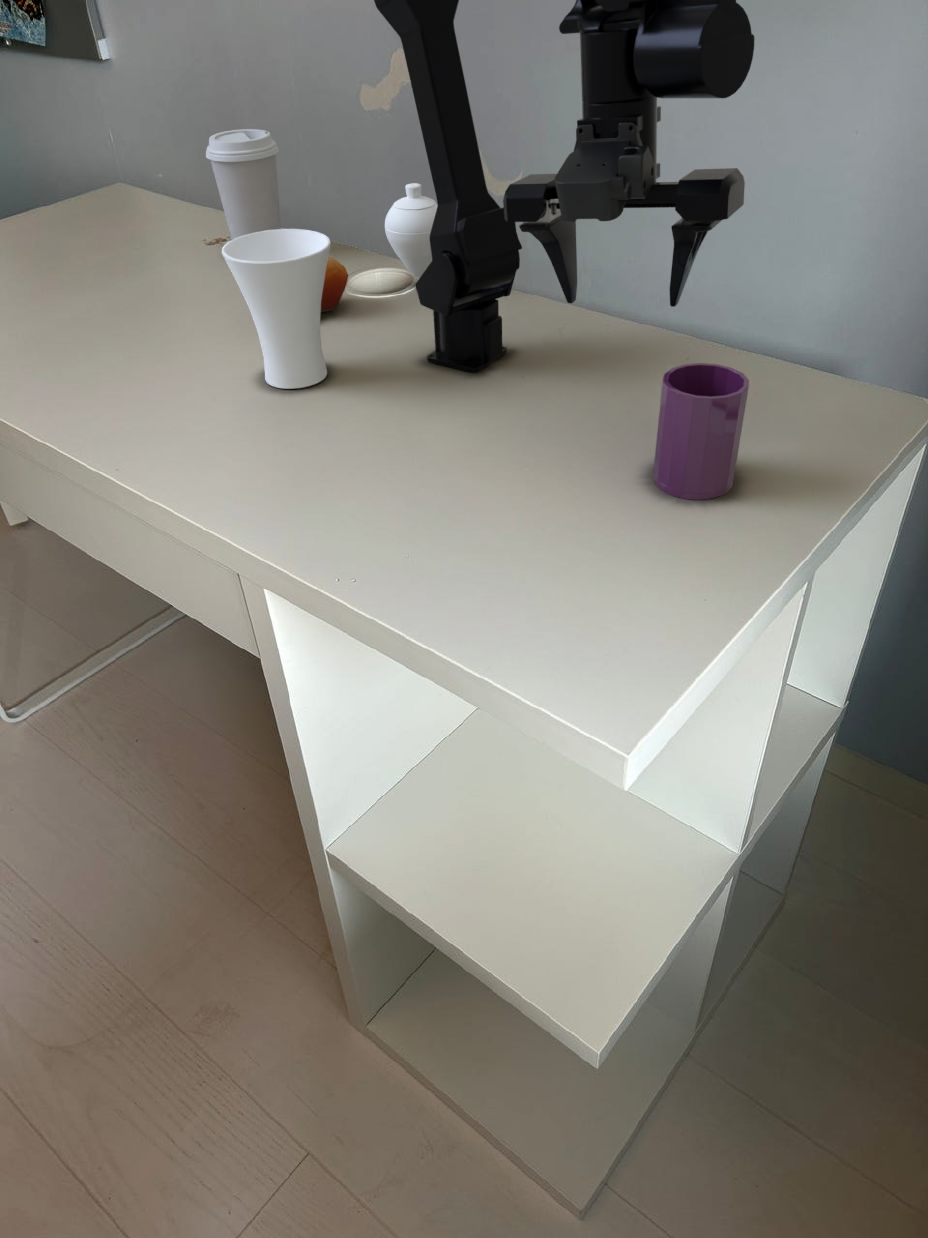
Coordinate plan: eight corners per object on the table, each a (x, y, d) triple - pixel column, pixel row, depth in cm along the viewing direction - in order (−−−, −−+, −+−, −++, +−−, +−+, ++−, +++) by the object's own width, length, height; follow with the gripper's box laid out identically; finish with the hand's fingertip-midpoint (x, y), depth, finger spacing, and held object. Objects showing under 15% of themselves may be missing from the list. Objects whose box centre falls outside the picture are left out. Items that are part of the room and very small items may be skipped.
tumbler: (649, 495, 79) (659, 394, 73) (657, 457, 84) (667, 360, 78) (731, 503, 77) (747, 401, 72) (734, 464, 82) (749, 365, 77)
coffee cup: (287, 262, 130) (269, 142, 120) (218, 264, 130) (194, 145, 121) (297, 241, 137) (281, 126, 128) (232, 243, 138) (211, 128, 128)
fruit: (260, 310, 111) (269, 240, 110) (294, 324, 119) (303, 258, 118) (321, 318, 109) (331, 246, 108) (352, 331, 116) (361, 264, 115)
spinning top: (439, 297, 117) (434, 194, 110) (381, 293, 119) (372, 191, 111) (456, 276, 123) (452, 177, 115) (400, 273, 125) (393, 175, 117)
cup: (355, 388, 97) (339, 253, 89) (252, 405, 95) (226, 268, 87) (336, 350, 105) (320, 223, 97) (241, 364, 103) (216, 235, 95)
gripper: (464, 120, 71) (483, 328, 80) (712, 106, 63) (704, 338, 72) (525, 100, 79) (536, 290, 88) (751, 85, 71) (740, 296, 80)
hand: (621, 303), depth 82 cm, fingers open, 9 cm apart
